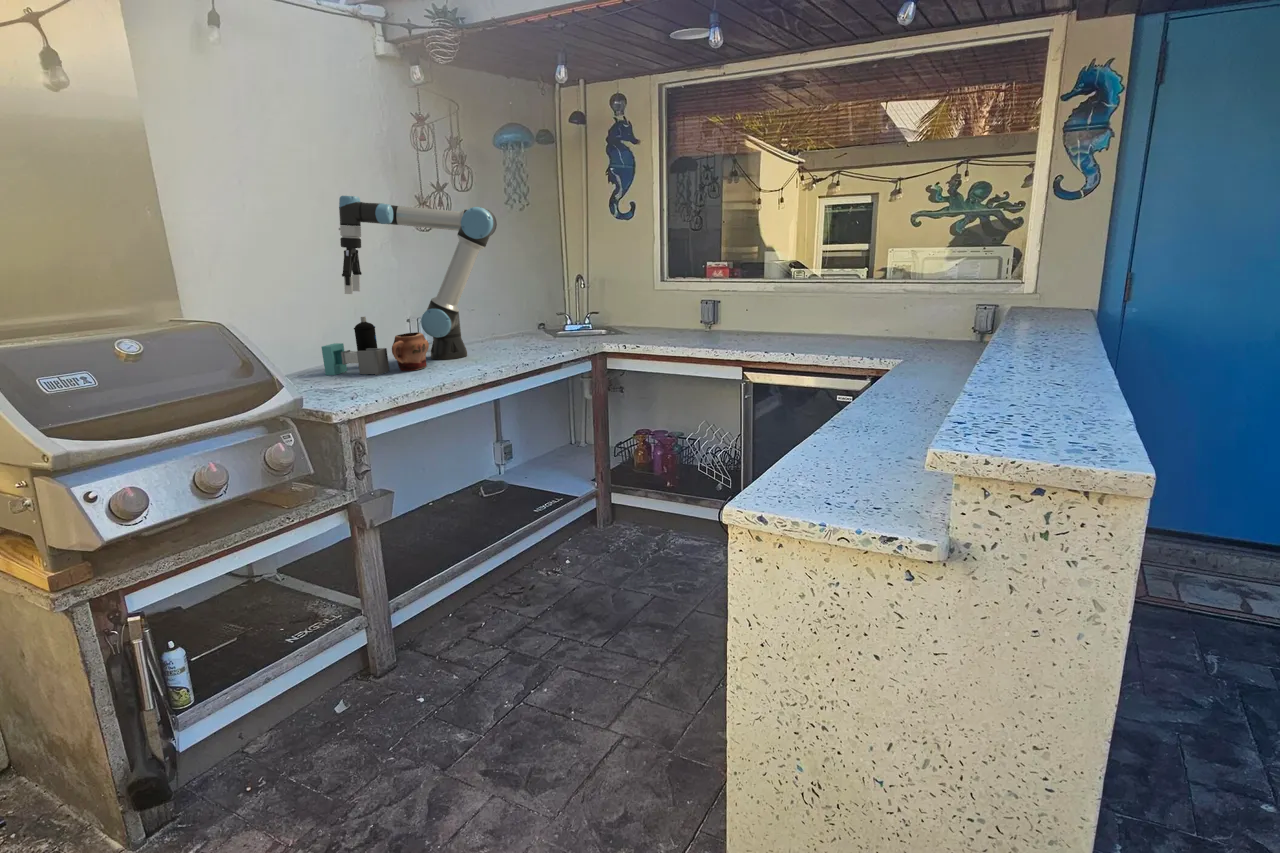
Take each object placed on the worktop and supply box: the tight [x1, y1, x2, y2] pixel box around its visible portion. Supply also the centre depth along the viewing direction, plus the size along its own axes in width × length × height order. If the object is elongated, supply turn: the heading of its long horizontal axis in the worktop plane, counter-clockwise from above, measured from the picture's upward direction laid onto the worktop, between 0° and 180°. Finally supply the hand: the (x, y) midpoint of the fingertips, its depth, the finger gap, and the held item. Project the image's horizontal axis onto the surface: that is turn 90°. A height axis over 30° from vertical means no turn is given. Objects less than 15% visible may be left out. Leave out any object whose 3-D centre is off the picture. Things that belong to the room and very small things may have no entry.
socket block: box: [321, 342, 348, 376], centre depth 280 cm, size 4×8×11 cm, turn 168°
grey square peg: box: [341, 349, 358, 365], centre depth 278 cm, size 14×5×5 cm, turn 78°
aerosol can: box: [353, 316, 378, 351], centre depth 292 cm, size 8×8×20 cm
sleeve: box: [356, 347, 390, 376], centre depth 277 cm, size 8×7×9 cm
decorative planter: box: [391, 332, 430, 372], centre depth 281 cm, size 20×12×14 cm, turn 167°
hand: (352, 292), depth 288 cm, fingers open, 13 cm apart
